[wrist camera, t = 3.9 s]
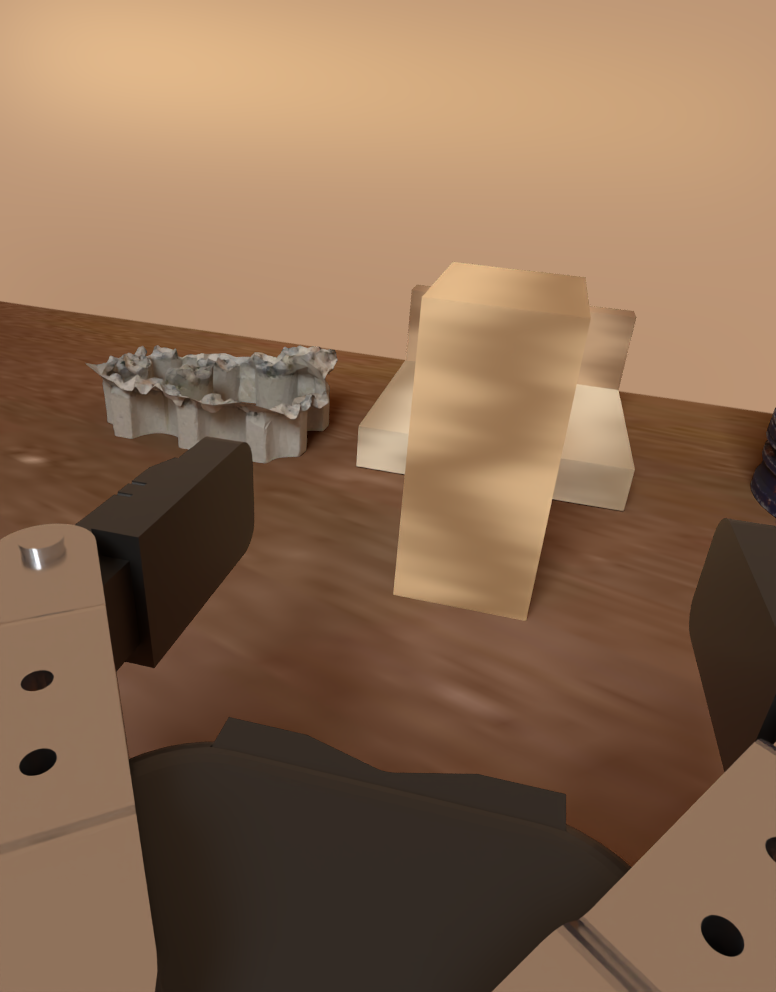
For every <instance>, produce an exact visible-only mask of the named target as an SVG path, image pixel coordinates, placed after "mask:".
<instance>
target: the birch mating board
mask: <svg viewBox="0 0 776 992" xmlns="http://www.w3.org/2000/svg"><path fill="white" fill-rule="evenodd" d="M430 287H431V286H424V285H416V286H415V287H414V288H413V289H412V296H411V306H410V318H409V329H408V340H407V352H406V360H405V362H404V363H403V365H402V366H401V367H400V369H399V370H398V372H397V373H396V374H395V376H394V377H393V379H392V380H391V382H390V383H389V384H388V386H387V387H386V389H385V390H384V391H383V393H382V394H381V396H380V397H379V398H378V400H377V401H376V403H375V404H374V405H373V407H372V408H371V410H370V411H369V412H368V414H367V415H366V417H365V418H364V419H363V421H362V422H361V424H360V425H359V430H358V448H357V465H356V466H359V467H365V468H370V469H376V470H382V471H388V472H394V473H400V474H405V467H406V457H407V447H408V436H409V426H410V415H411V405H412V395H413V384H414V374H415V363H416V353H417V342H418V332H419V322H420V311H421V301H422V296H423V295H424V294H425V293H426V292H427V291H428V290H429V288H430ZM589 308H590V315H591V320H590V325H589V329H588V334H587V339H586V343H585V348H584V353H583V357H582V362H581V367H580V371H579V376H578V381H577V385H576V390H575V395H574V400H573V404H572V409H571V414H570V418H569V423H568V428H567V432H566V437H565V442H564V446H563V451H562V456H561V460H560V465H559V470H558V474H557V479H556V484H555V488H554V493H553V498H552V499H555V500H560V501H566V502H572V503H578V504H584V505H590V506H596V507H602V508H608V509H614V510H620V511H624V508H625V504H626V500H627V497H628V493H629V489H630V486H631V482H632V478H633V475H634V471H635V468H634V463H633V459H632V454H631V449H630V444H629V439H628V434H627V429H626V425H625V420H624V415H623V410H622V405H621V400H620V395H619V391H618V390H619V385H620V381H621V377H622V373H623V369H624V365H625V360H626V357H627V353H628V348H629V345H630V340H631V337H632V332H633V328H634V324H635V320H636V316H635V313H634V311H627V310H619V309H612V308H603V307H595V306H589Z"/></svg>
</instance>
